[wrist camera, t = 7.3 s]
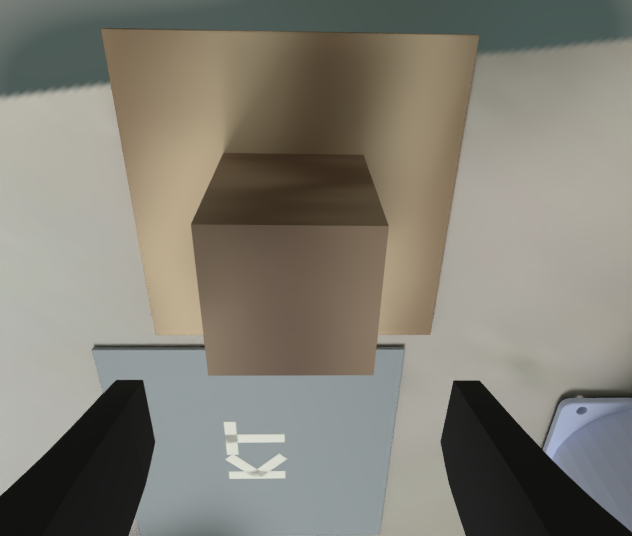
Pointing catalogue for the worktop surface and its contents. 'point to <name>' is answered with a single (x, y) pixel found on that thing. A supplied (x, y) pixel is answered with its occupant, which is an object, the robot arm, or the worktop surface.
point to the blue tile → (260, 445)
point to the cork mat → (291, 140)
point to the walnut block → (290, 265)
